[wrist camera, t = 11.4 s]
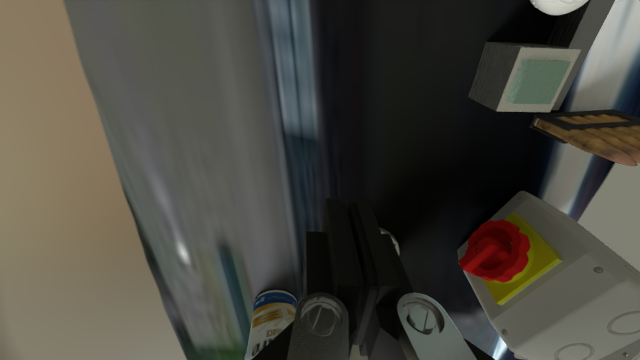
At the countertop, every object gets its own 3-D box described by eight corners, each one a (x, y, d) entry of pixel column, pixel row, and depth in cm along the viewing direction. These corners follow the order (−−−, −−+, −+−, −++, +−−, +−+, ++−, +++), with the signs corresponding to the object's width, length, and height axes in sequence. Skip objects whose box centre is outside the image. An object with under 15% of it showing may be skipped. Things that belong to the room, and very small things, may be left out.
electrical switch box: (488, 167, 41) (599, 266, 23) (560, 209, 43) (709, 326, 26) (426, 232, 47) (476, 348, 30) (492, 265, 50) (573, 390, 32)
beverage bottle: (248, 310, 53) (224, 452, 36) (260, 284, 49) (239, 429, 32) (289, 317, 55) (285, 454, 38) (304, 292, 51) (306, 433, 34)
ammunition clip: (614, 109, 35) (744, 149, 25) (606, 123, 36) (728, 167, 26) (534, 114, 34) (632, 156, 24) (529, 127, 35) (621, 174, 25)
